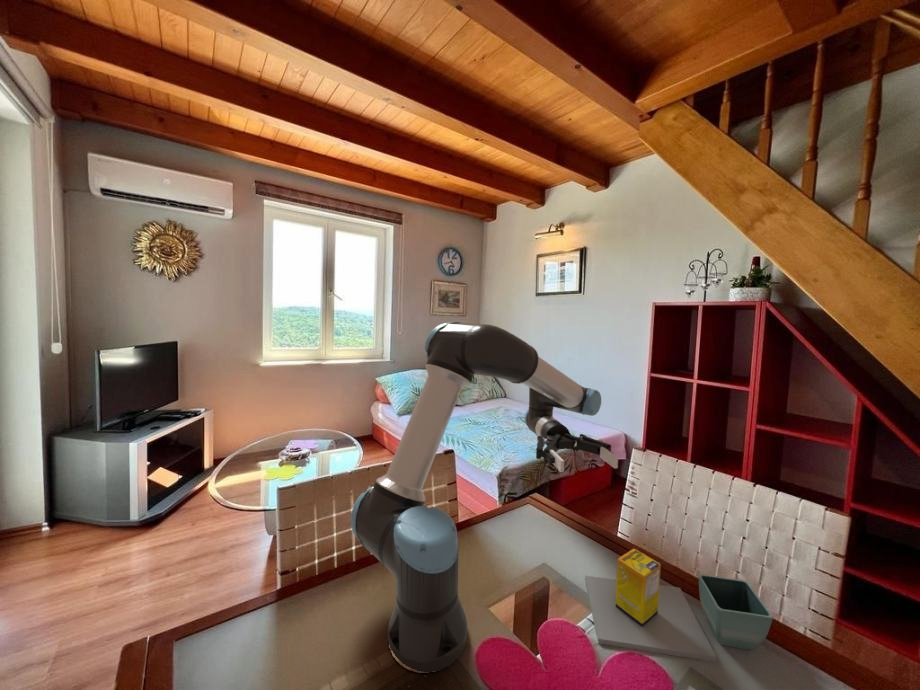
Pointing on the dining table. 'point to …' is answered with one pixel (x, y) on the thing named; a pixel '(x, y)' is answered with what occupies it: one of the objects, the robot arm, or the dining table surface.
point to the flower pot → (734, 611)
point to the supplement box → (638, 586)
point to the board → (648, 623)
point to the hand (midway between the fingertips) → (589, 464)
